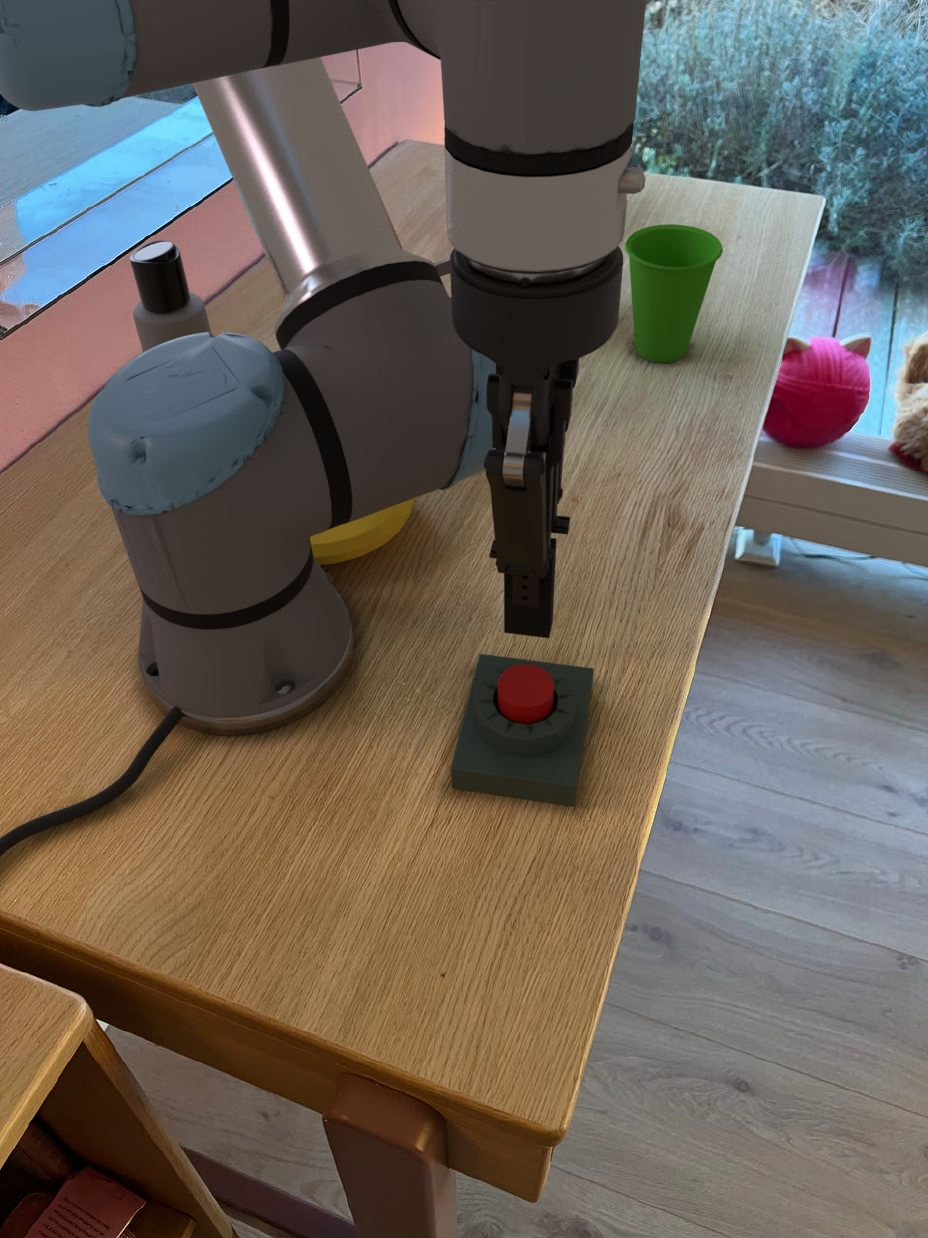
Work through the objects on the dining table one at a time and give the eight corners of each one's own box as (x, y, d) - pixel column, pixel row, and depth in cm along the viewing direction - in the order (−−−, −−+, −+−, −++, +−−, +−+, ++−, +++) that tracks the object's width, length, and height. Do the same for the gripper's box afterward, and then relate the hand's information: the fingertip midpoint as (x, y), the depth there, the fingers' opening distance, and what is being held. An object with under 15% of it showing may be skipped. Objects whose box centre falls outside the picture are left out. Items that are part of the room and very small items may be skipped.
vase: (415, 584, 78) (409, 513, 73) (213, 588, 78) (194, 518, 73) (420, 464, 89) (415, 395, 84) (244, 468, 90) (229, 400, 85)
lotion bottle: (226, 482, 88) (172, 266, 74) (165, 476, 89) (101, 261, 75) (248, 445, 92) (201, 232, 78) (190, 439, 93) (133, 228, 79)
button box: (574, 807, 64) (578, 769, 61) (451, 788, 65) (449, 751, 62) (591, 688, 70) (595, 650, 68) (480, 674, 72) (479, 635, 69)
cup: (702, 327, 104) (719, 224, 96) (709, 375, 98) (726, 268, 90) (615, 325, 105) (624, 222, 97) (616, 372, 99) (625, 266, 91)
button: (549, 727, 64) (550, 710, 62) (493, 720, 64) (493, 702, 63) (556, 685, 66) (557, 667, 65) (502, 678, 67) (502, 660, 65)
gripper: (609, 326, 38) (578, 719, 55) (636, 186, 47) (602, 561, 64) (416, 312, 39) (444, 701, 56) (478, 178, 48) (486, 548, 65)
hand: (528, 626), depth 60 cm, fingers closed
